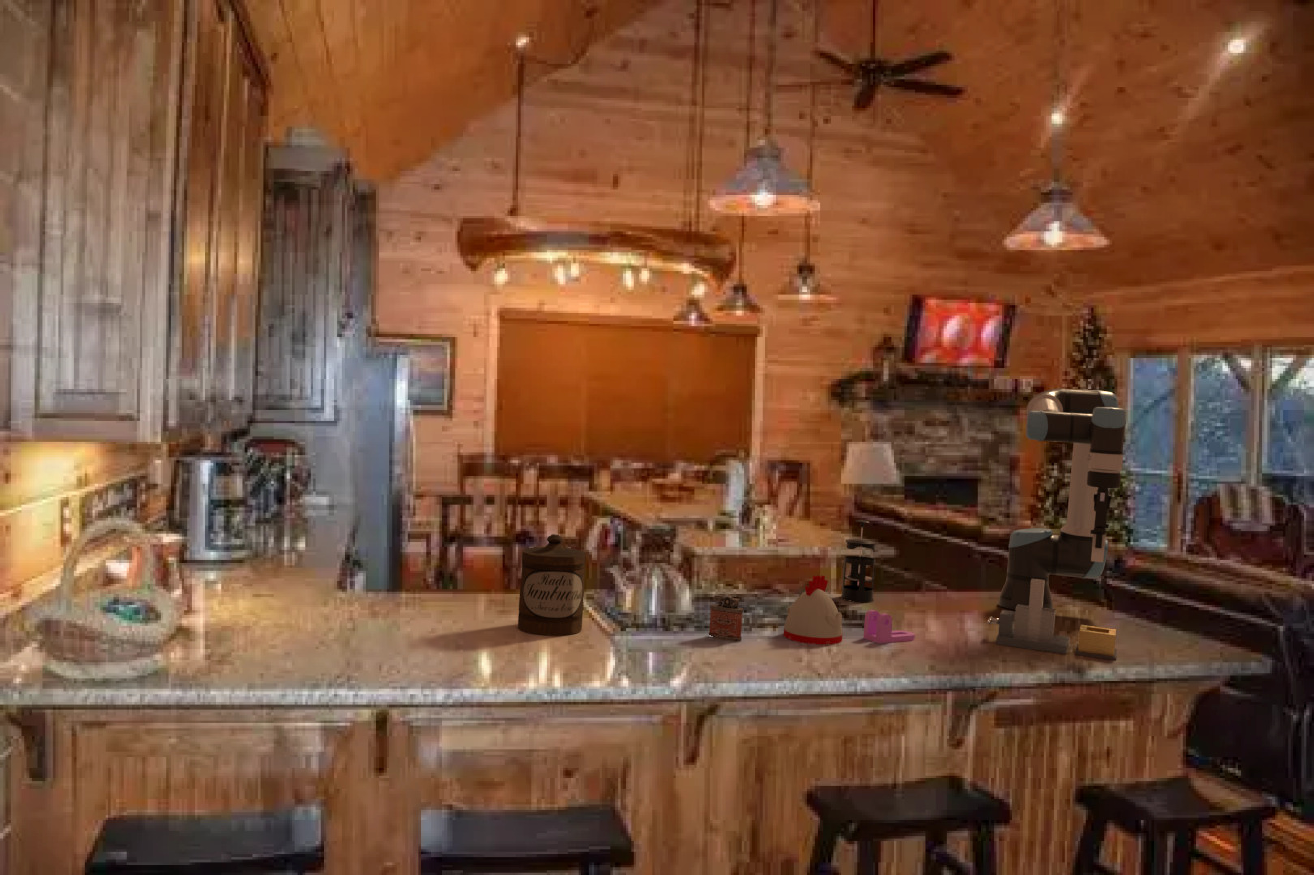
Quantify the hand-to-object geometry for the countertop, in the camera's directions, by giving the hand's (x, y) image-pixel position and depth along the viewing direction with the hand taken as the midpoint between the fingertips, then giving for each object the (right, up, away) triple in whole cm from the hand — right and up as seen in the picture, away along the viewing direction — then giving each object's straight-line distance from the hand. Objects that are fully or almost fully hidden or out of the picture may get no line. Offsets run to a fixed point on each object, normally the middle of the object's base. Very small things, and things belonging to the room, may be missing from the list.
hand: (1097, 558), depth 266 cm
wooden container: (-132, -15, -12) cm, 134 cm away
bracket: (-50, -20, 0) cm, 54 cm away
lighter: (-91, -18, -11) cm, 94 cm away
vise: (-16, -22, +4) cm, 27 cm away
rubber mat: (-1, -23, -1) cm, 23 cm away
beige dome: (-70, -19, -4) cm, 73 cm away
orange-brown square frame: (-1, -22, -1) cm, 22 cm away
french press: (-49, -18, +52) cm, 74 cm away
